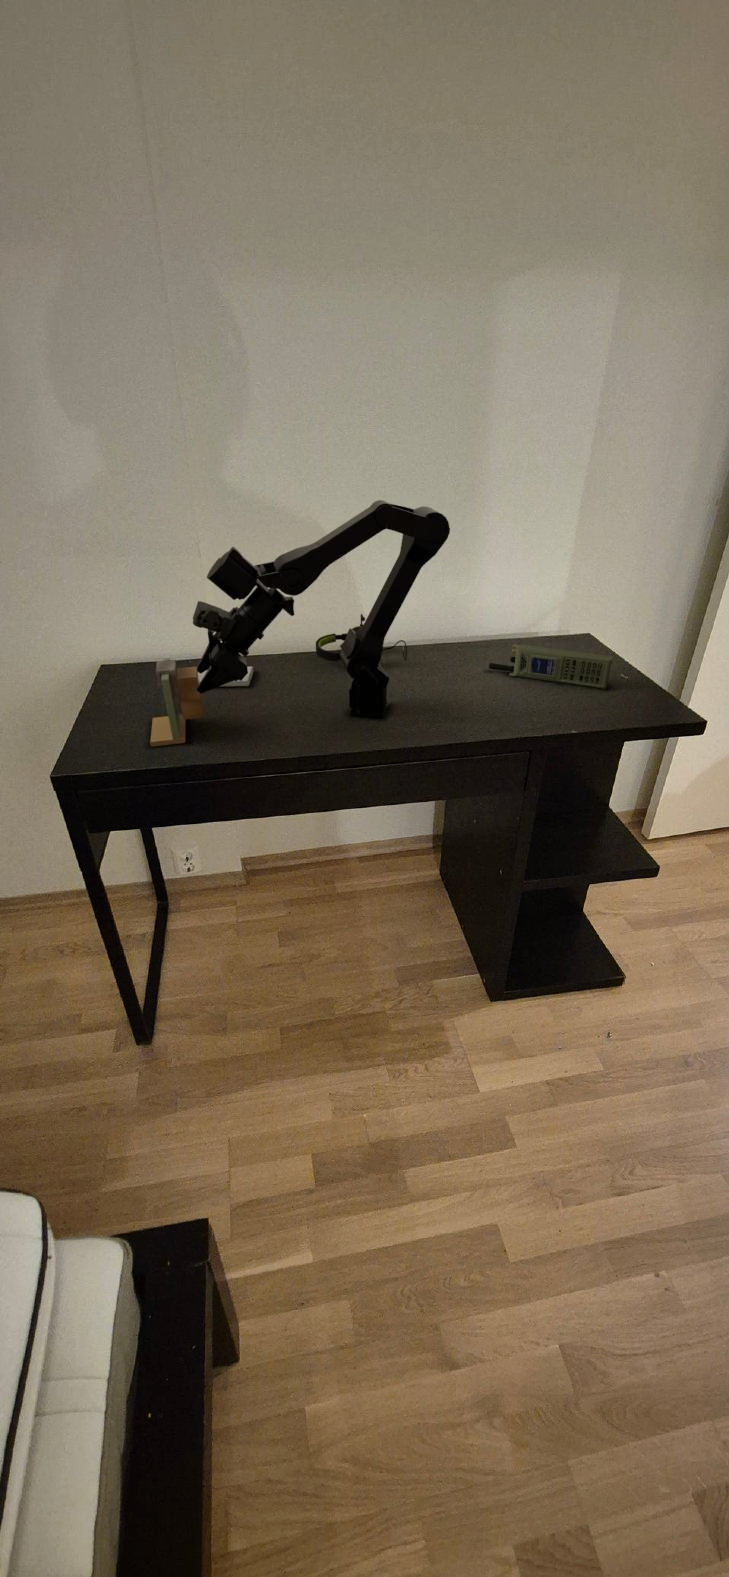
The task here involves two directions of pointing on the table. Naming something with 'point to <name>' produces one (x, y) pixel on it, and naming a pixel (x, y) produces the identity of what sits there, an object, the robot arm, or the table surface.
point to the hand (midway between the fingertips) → (198, 681)
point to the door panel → (168, 720)
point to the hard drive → (243, 682)
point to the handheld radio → (559, 666)
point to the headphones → (333, 637)
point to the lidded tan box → (182, 688)
